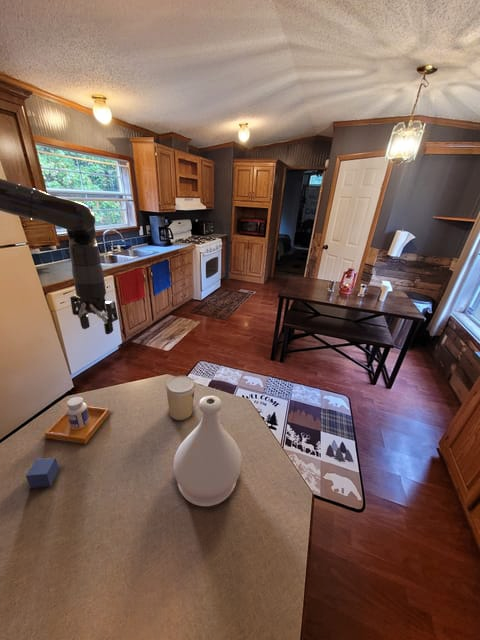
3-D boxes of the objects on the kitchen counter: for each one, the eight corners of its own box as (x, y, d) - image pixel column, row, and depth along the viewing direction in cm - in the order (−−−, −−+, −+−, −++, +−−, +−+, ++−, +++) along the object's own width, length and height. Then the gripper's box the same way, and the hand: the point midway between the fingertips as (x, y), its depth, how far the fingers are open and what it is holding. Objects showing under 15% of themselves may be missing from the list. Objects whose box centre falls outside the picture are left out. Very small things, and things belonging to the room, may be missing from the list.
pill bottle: (87, 414, 83) (82, 392, 79) (92, 423, 79) (87, 401, 76) (68, 422, 79) (62, 400, 76) (72, 432, 76) (67, 409, 72)
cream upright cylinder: (199, 415, 87) (199, 387, 82) (173, 426, 82) (171, 396, 77) (188, 399, 94) (188, 372, 89) (163, 408, 88) (161, 380, 84)
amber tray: (46, 438, 74) (44, 433, 73) (75, 408, 85) (74, 404, 84) (85, 443, 73) (84, 438, 72) (109, 413, 84) (109, 408, 84)
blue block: (30, 488, 61) (25, 475, 59) (40, 471, 65) (36, 459, 63) (50, 486, 62) (46, 473, 60) (59, 469, 66) (55, 457, 64)
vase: (205, 437, 78) (207, 370, 69) (252, 470, 70) (262, 398, 60) (159, 480, 65) (154, 404, 55) (210, 527, 56) (214, 447, 46)
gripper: (57, 278, 70) (68, 331, 76) (100, 286, 67) (108, 340, 73) (79, 273, 77) (88, 322, 83) (119, 280, 74) (125, 330, 80)
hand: (97, 330), depth 78 cm, fingers open, 8 cm apart
